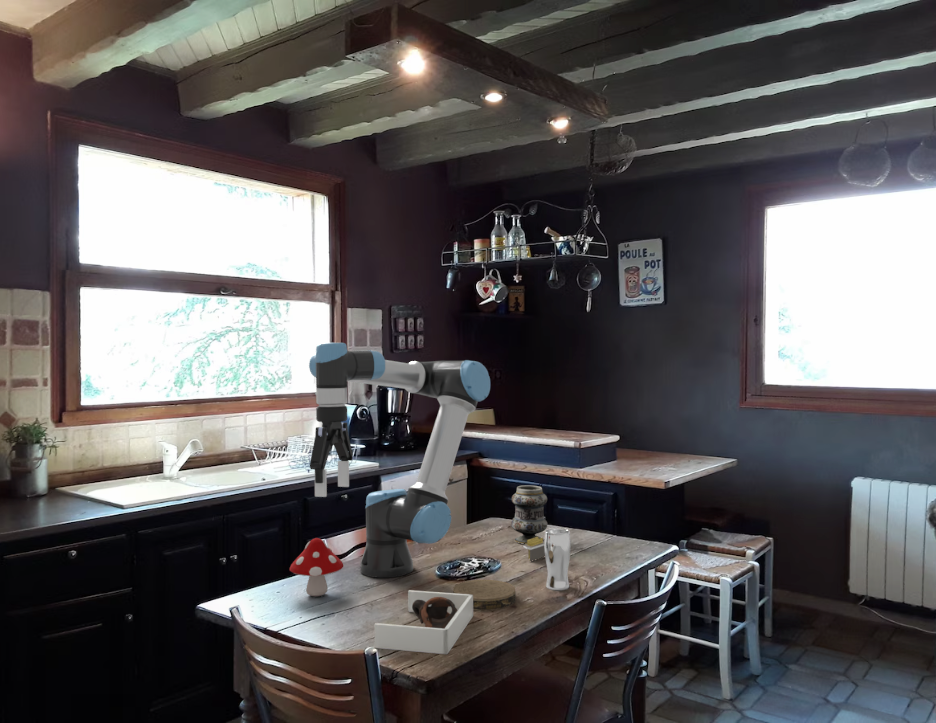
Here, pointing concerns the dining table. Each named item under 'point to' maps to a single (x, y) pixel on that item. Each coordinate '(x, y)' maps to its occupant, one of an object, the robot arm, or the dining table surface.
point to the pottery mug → (434, 612)
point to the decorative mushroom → (316, 566)
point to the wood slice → (487, 593)
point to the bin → (426, 636)
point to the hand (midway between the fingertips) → (332, 491)
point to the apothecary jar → (529, 512)
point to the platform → (535, 548)
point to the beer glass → (557, 557)
